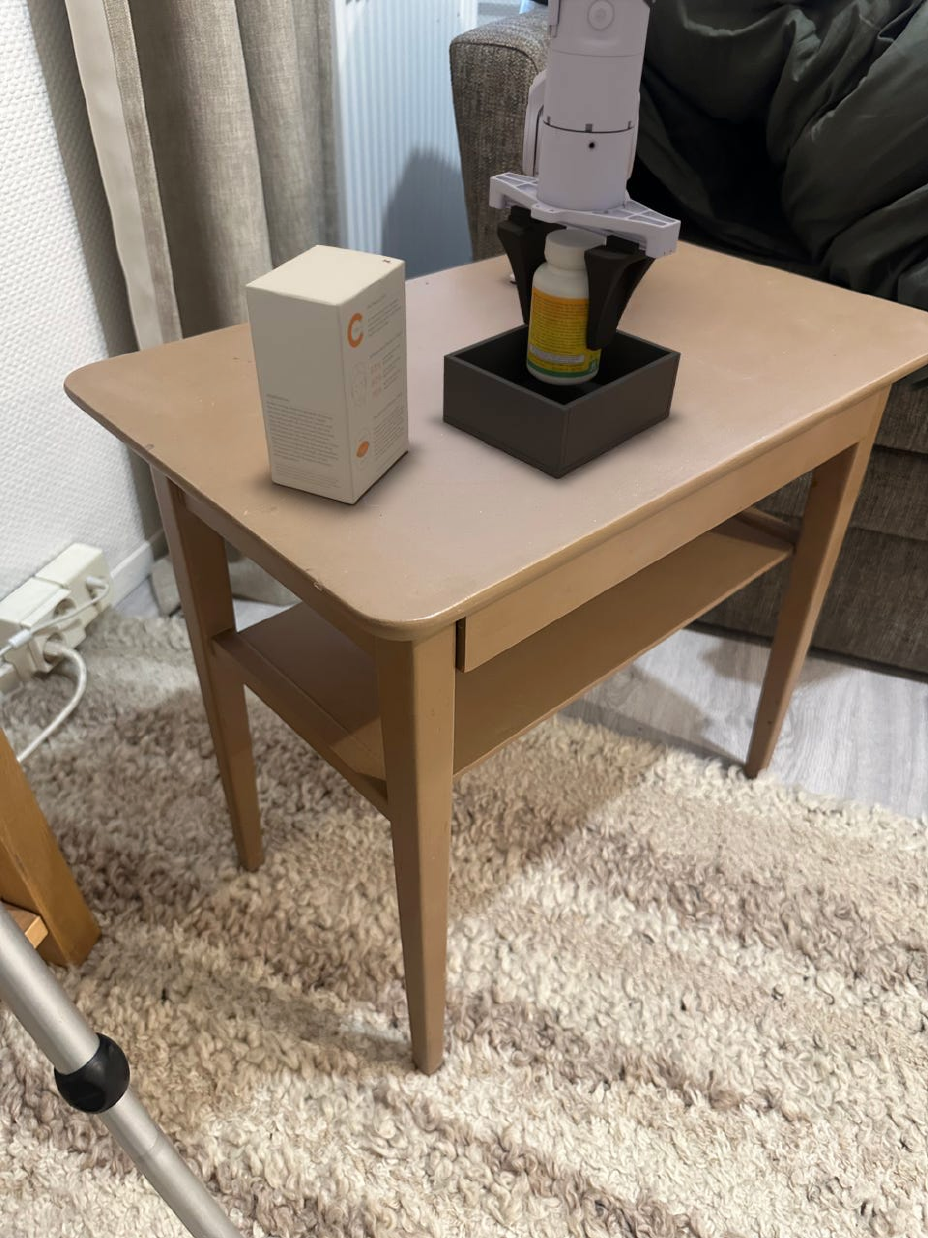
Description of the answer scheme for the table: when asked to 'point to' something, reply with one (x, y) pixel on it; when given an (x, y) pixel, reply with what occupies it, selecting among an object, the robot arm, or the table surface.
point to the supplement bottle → (562, 312)
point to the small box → (332, 369)
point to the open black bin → (557, 399)
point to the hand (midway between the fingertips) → (566, 333)
